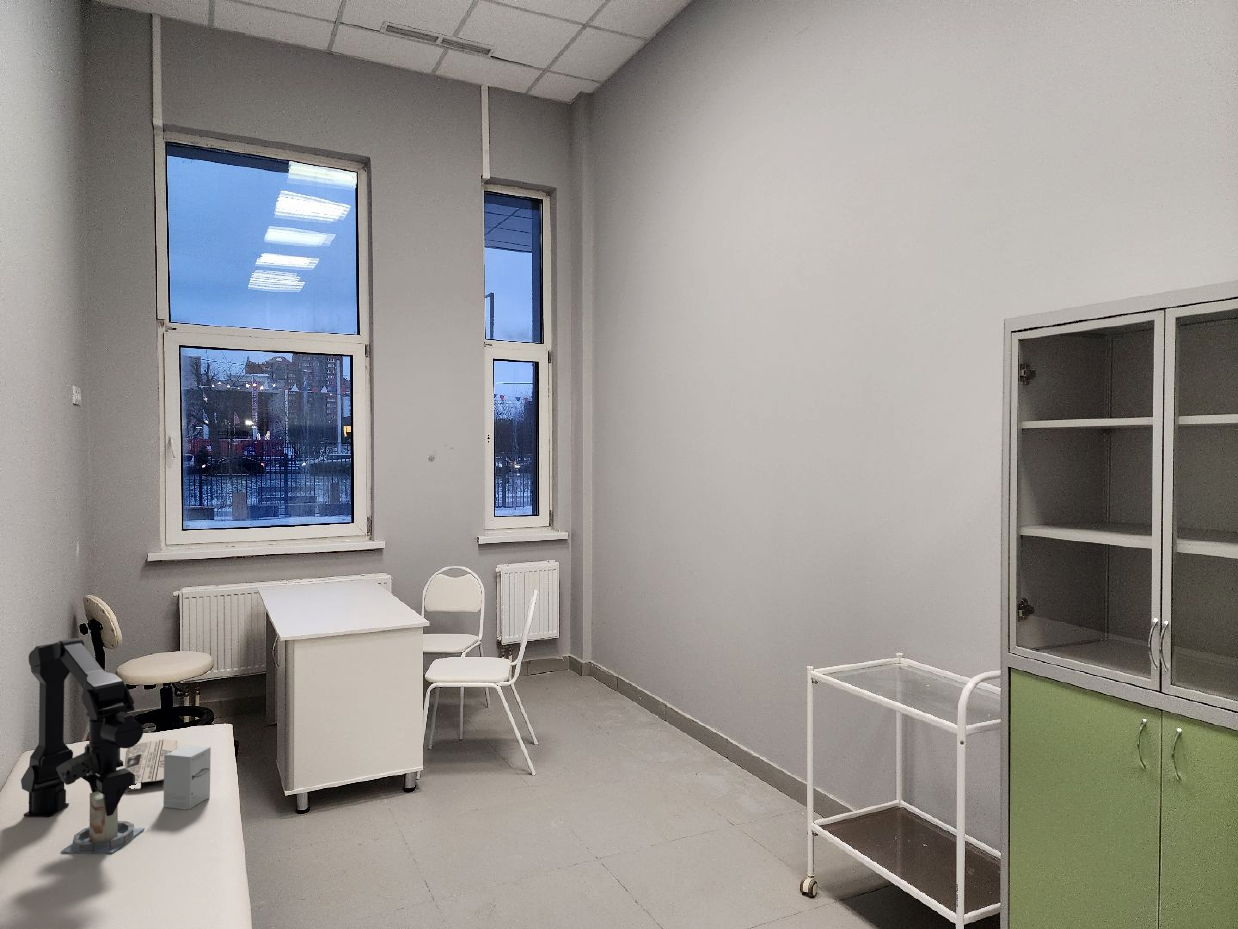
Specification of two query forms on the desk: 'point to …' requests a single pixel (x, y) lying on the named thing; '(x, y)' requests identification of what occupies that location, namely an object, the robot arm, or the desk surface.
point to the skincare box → (101, 820)
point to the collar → (103, 847)
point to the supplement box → (186, 777)
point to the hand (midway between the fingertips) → (104, 810)
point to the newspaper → (148, 760)
